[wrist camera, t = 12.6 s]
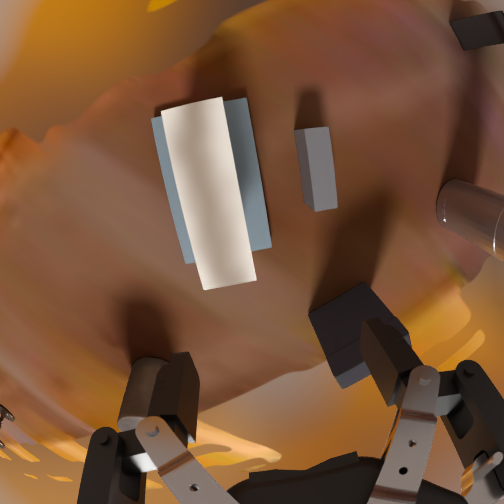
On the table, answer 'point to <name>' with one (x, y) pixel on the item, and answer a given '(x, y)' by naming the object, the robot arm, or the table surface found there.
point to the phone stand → (480, 30)
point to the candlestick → (4, 414)
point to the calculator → (350, 331)
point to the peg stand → (245, 173)
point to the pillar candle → (138, 392)
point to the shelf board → (209, 192)
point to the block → (316, 168)
